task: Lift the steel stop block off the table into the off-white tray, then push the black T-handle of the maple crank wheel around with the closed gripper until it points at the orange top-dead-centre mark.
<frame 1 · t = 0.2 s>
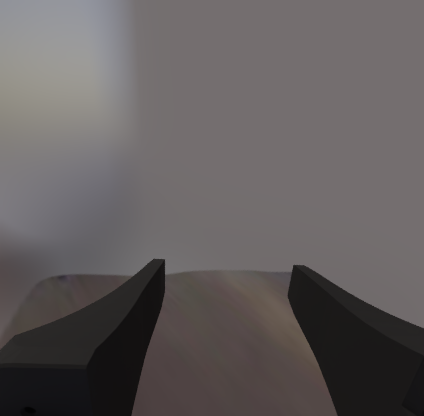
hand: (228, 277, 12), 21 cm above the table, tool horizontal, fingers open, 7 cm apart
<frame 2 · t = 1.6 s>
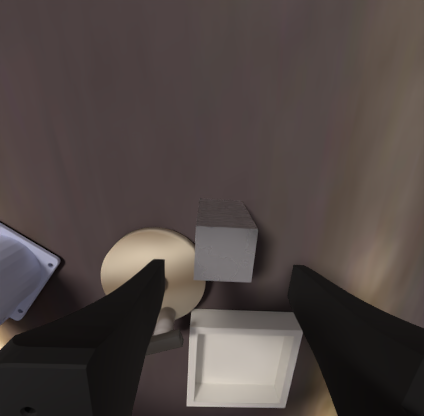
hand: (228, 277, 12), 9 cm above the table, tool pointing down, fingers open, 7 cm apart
crank: (150, 288, 20), point 3 cm above the table, hinge at -70.0°
tray: (238, 349, 26), on the table
stop block: (219, 219, 21), on the table
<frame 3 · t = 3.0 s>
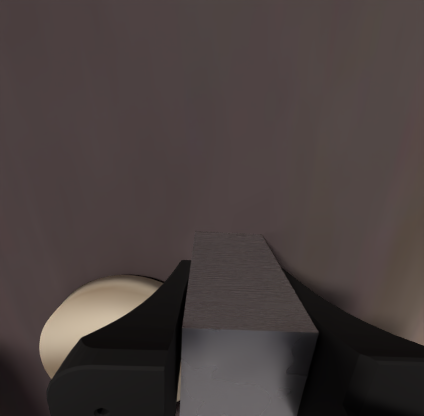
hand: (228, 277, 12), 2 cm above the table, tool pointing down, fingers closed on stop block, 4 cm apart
crank: (116, 377, 12), point 3 cm above the table, hinge at -70.0°
stop block: (225, 262, 14), on the table, touching gripper
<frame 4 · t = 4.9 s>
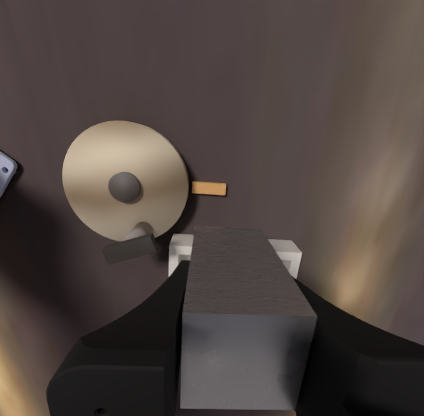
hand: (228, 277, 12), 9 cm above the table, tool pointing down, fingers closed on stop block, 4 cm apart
crank: (120, 189, 16), point 3 cm above the table, hinge at -70.0°
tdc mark: (209, 187, 20), on the table
tray: (227, 287, 23), on the table
stop block: (225, 256, 14), point 7 cm above the table, touching gripper
when the fingers open (4 cm above the table, at t = 6.8 s): stop block drops 1 cm, resting on tray.
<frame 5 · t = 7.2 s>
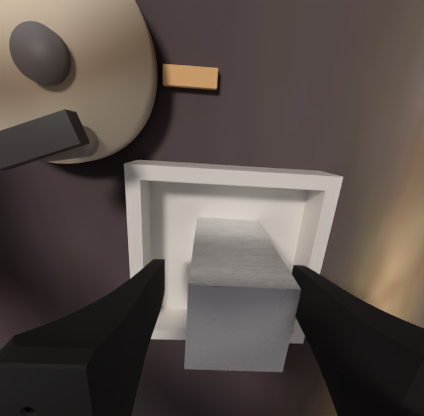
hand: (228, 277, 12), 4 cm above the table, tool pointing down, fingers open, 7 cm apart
crank: (26, 47, 9), point 3 cm above the table, hinge at -70.0°
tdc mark: (190, 78, 12), on the table
tray: (223, 247, 15), on the table
stop block: (224, 245, 15), resting on tray
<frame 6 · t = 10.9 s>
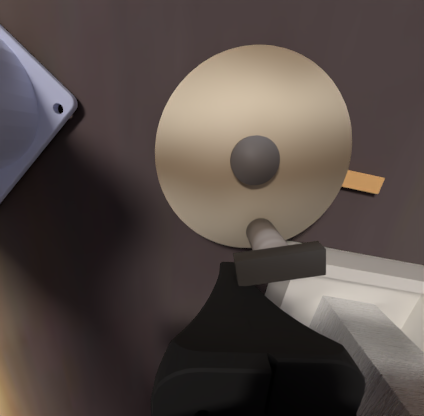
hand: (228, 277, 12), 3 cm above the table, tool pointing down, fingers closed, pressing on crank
crank: (258, 162, 10), point 3 cm above the table, hinge at -69.6°, touching gripper
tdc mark: (354, 180, 13), on the table
tray: (332, 320, 17), on the table
stop block: (338, 321, 16), resting on tray
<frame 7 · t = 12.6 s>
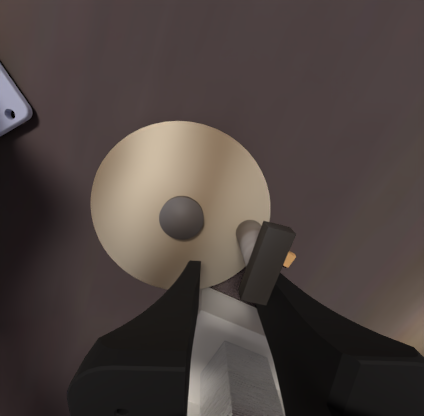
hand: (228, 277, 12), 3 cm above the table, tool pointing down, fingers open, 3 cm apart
crank: (180, 223, 11), point 3 cm above the table, hinge at 13.4°, touching gripper
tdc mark: (272, 250, 15), on the table
tray: (230, 362, 18), on the table
stop block: (233, 365, 18), resting on tray
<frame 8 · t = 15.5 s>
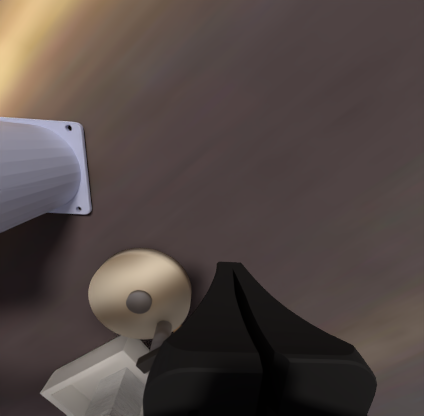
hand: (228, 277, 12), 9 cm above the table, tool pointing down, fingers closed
crank: (136, 308, 20), point 3 cm above the table, hinge at 1.6°
tray: (122, 380, 27), on the table
stop block: (123, 383, 26), resting on tray
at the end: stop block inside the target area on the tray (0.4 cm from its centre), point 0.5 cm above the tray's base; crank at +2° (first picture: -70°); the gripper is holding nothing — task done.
